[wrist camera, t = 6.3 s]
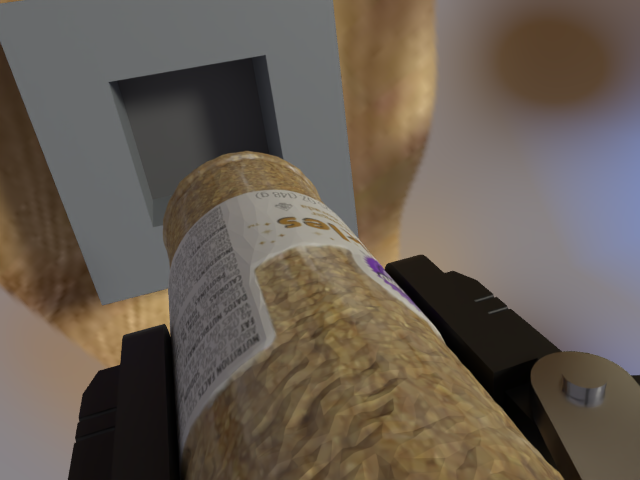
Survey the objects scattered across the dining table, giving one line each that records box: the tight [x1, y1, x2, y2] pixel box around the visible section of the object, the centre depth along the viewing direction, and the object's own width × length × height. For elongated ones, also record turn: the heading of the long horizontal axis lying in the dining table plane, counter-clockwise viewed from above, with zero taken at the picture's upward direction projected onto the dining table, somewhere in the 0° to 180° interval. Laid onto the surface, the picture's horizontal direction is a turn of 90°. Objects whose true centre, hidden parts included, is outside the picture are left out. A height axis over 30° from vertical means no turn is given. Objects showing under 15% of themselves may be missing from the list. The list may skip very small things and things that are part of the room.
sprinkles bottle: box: [163, 151, 564, 480], centre depth 9 cm, size 5×5×14 cm
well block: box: [0, 0, 358, 305], centre depth 26 cm, size 14×14×5 cm
